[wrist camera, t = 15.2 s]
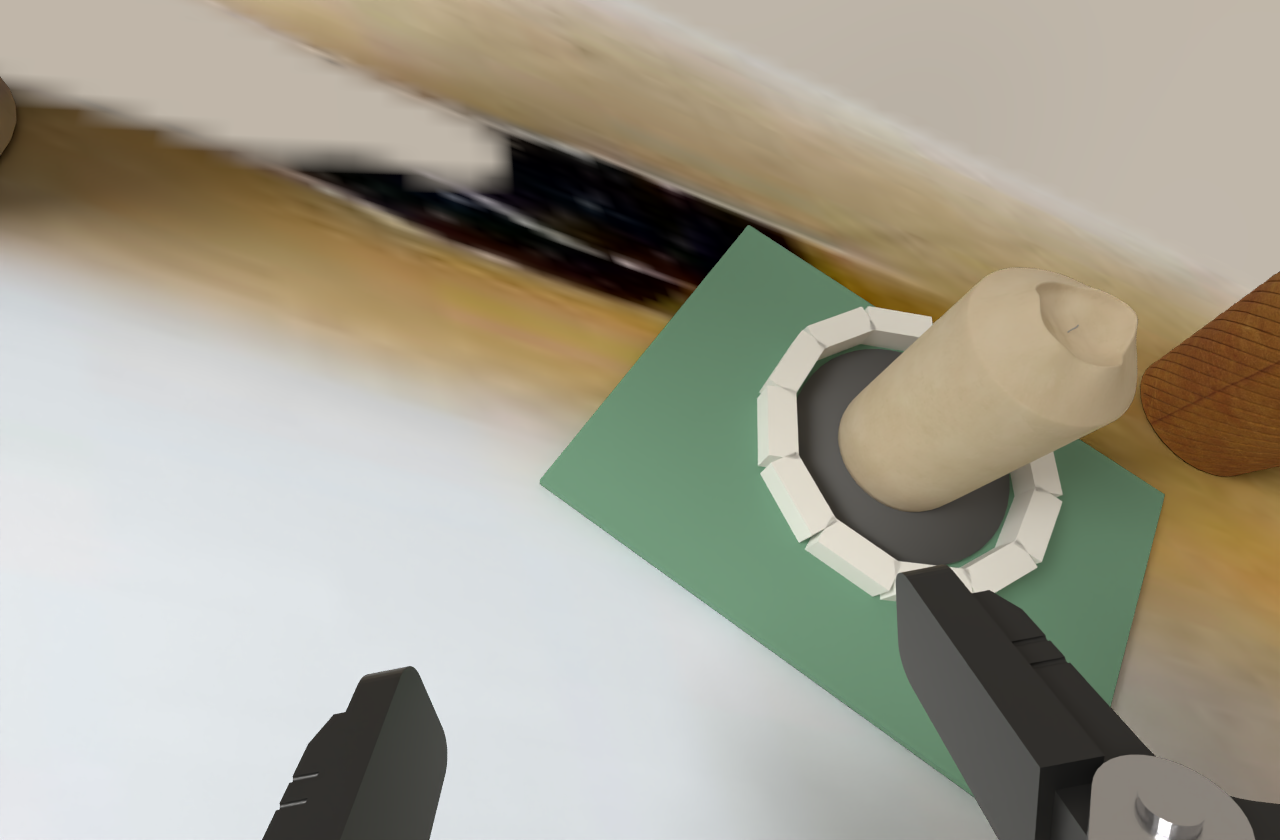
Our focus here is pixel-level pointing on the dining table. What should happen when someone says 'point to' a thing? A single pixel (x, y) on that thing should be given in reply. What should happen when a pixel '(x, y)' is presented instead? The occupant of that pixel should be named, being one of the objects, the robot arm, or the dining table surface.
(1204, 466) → the disposable coffee cup
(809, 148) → the dining table surface
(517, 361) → the dining table surface
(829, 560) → the putting green
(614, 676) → the dining table surface
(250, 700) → the dining table surface
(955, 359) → the candle
